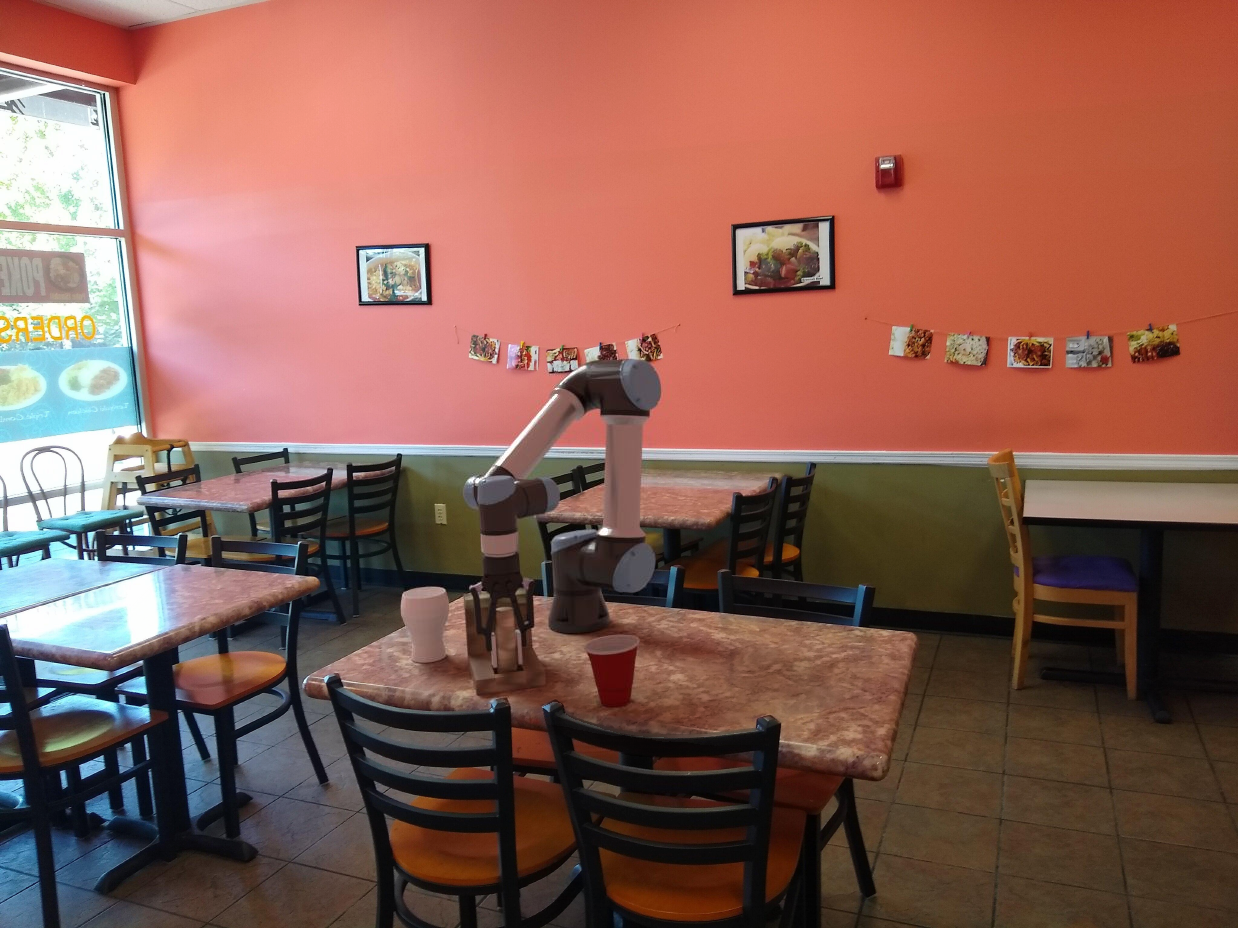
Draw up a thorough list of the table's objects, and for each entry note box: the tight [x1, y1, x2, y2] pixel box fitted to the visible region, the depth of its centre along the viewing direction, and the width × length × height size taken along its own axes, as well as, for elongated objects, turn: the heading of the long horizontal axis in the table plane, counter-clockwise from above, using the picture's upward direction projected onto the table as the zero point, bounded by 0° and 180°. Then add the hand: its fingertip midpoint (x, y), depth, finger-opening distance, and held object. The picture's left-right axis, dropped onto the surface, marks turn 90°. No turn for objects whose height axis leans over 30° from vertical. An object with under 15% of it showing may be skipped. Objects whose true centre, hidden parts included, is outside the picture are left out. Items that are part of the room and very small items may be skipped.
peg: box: [495, 607, 517, 674], centre depth 189 cm, size 4×4×15 cm
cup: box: [400, 586, 450, 664], centre depth 206 cm, size 11×11×15 cm
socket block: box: [463, 587, 547, 696], centre depth 193 cm, size 14×18×16 cm
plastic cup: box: [582, 634, 640, 708], centre depth 176 cm, size 11×11×12 cm
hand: (507, 663), depth 189 cm, fingers open, 4 cm apart
